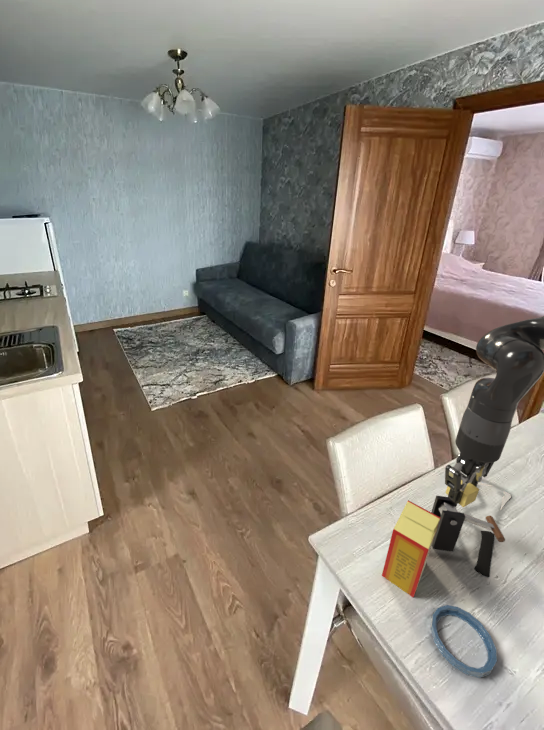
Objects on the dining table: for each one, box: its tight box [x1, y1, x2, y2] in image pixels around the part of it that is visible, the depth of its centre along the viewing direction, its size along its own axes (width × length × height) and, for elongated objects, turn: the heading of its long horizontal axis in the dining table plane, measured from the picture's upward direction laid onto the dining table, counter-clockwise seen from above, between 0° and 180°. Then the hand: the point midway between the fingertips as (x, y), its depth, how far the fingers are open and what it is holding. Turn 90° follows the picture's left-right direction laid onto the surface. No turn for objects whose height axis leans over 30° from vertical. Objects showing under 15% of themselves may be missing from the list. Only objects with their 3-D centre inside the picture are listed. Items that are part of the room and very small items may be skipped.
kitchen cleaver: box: [473, 481, 512, 578], centre depth 88 cm, size 31×2×10 cm
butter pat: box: [444, 480, 480, 508], centre depth 72 cm, size 4×4×3 cm
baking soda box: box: [381, 500, 440, 598], centre depth 74 cm, size 10×6×16 cm
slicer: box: [430, 495, 465, 553], centre depth 81 cm, size 10×8×13 cm
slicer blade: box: [439, 502, 506, 543], centre depth 79 cm, size 13×6×2 cm, turn 80°
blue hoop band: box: [429, 604, 498, 679], centre depth 64 cm, size 10×10×3 cm
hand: (460, 496), depth 73 cm, fingers closed on butter pat, 4 cm apart
